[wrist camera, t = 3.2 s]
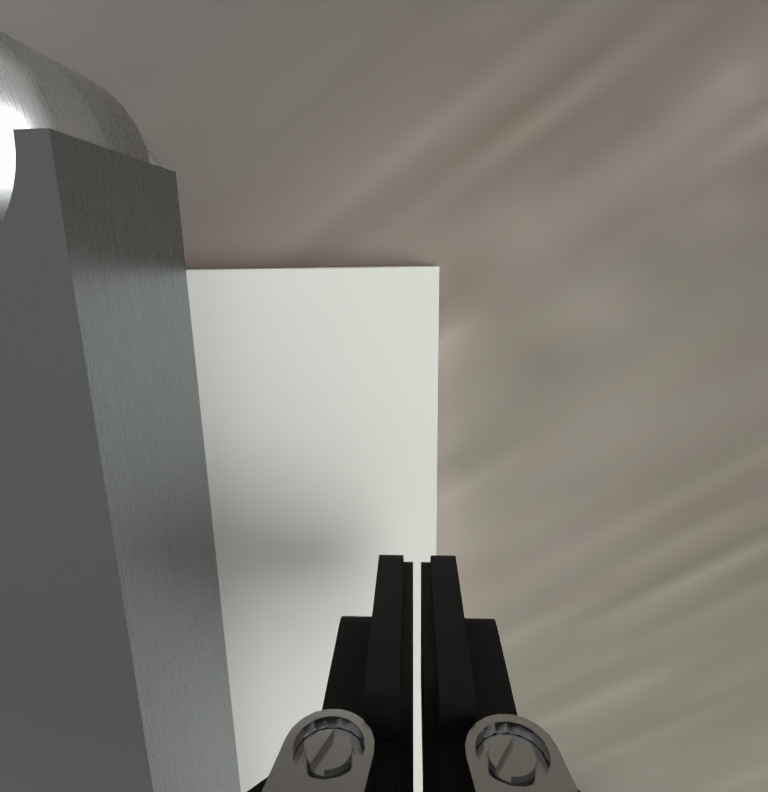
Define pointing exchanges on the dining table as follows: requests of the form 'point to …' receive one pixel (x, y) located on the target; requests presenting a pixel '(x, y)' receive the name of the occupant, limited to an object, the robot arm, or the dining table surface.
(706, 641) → the dining table surface
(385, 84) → the dining table surface
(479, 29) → the dining table surface
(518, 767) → the robot arm
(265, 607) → the label board
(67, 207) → the swing bar
